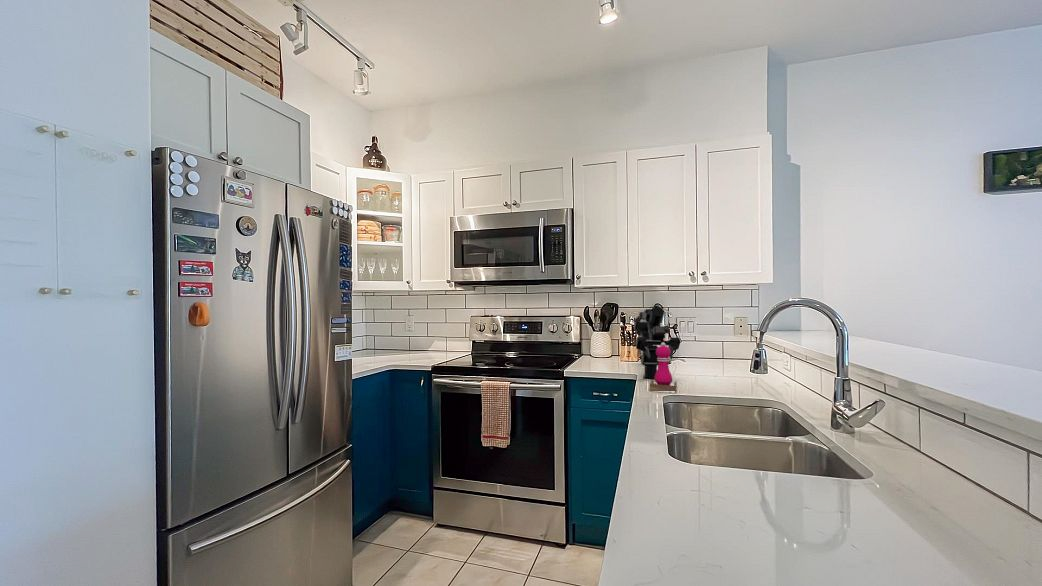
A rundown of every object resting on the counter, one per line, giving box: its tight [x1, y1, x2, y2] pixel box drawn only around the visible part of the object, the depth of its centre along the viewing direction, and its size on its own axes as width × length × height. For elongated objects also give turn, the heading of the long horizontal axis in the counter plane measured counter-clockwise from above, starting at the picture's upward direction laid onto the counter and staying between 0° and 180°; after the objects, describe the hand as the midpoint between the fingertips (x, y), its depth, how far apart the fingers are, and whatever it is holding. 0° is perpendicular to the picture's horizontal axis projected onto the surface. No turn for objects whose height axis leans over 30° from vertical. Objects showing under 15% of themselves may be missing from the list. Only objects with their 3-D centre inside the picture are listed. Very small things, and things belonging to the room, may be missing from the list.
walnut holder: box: [649, 379, 678, 392], centre depth 185 cm, size 9×10×3 cm
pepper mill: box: [653, 342, 673, 386], centre depth 185 cm, size 7×7×20 cm
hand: (660, 358), depth 190 cm, fingers open, 9 cm apart
